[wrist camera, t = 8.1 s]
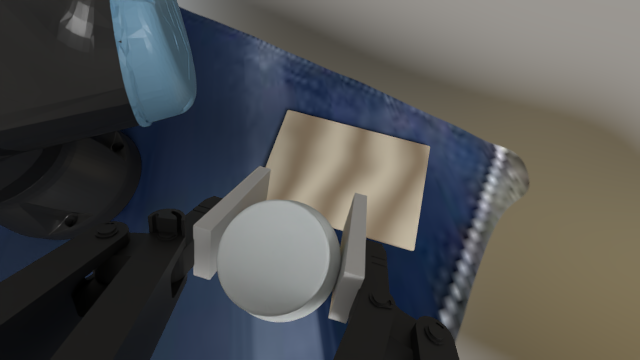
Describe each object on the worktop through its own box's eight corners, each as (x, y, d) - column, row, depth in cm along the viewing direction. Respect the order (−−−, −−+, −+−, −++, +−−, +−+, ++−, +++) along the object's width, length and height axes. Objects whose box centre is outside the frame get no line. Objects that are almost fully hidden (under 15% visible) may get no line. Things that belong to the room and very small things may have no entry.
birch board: (252, 204, 31) (251, 203, 31) (288, 112, 36) (287, 109, 35) (412, 251, 30) (414, 250, 29) (428, 148, 34) (430, 146, 34)
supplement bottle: (250, 232, 18) (188, 197, 9) (321, 215, 19) (327, 166, 10) (263, 311, 17) (201, 362, 8) (340, 290, 17) (369, 314, 8)
